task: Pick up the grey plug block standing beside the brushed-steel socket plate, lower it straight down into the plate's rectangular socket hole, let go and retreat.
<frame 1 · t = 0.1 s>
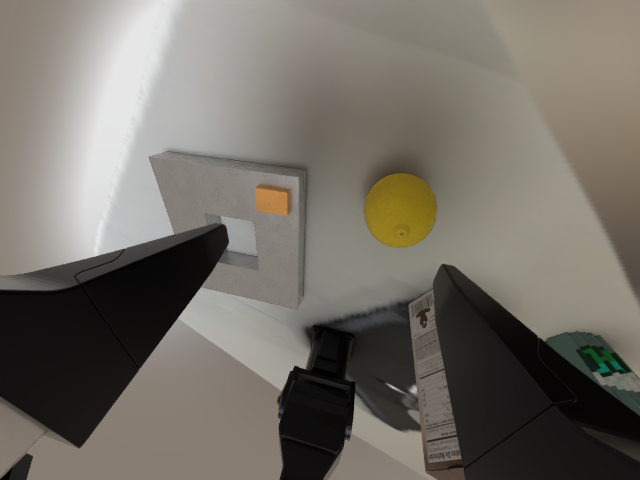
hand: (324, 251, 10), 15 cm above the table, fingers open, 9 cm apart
coffee box: (451, 310, 29), on the table
socket plate: (243, 232, 29), on the table
lemon: (396, 191, 22), on the table
can: (570, 347, 27), on the table
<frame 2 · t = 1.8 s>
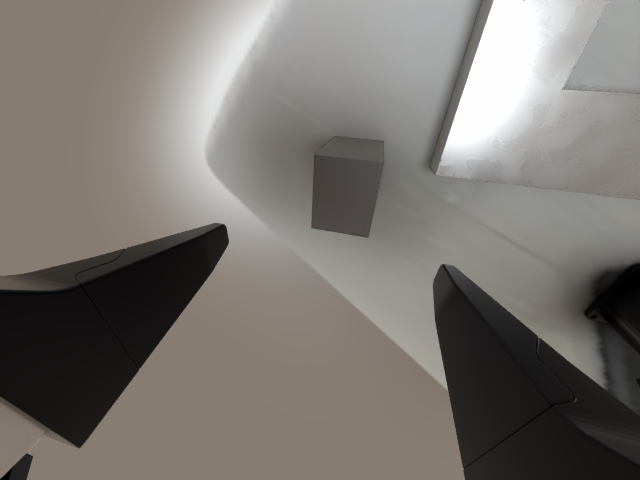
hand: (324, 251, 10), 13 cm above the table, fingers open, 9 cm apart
plug: (354, 169, 20), on the table
socket plate: (636, 17, 13), on the table
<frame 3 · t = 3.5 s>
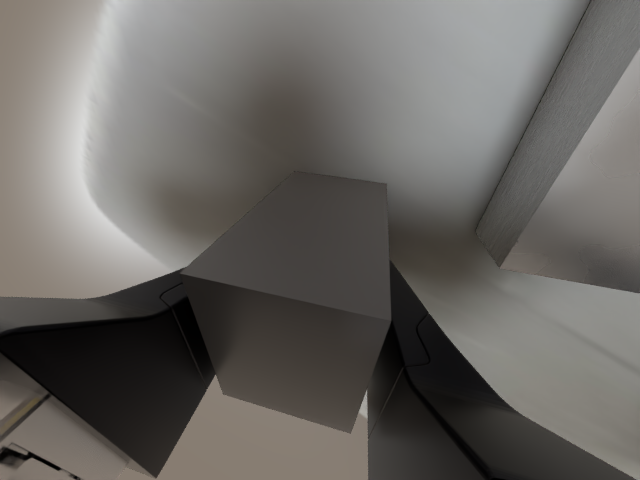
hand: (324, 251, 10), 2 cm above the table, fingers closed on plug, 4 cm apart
plug: (333, 227, 11), on the table, touching gripper
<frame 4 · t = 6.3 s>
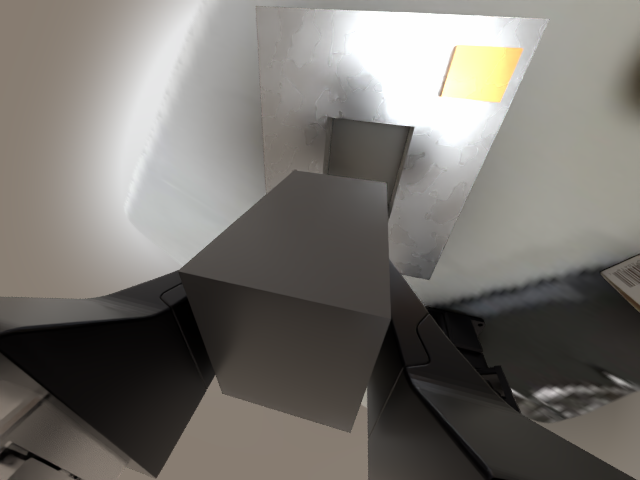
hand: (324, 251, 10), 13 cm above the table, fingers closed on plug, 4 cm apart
plug: (333, 226, 11), point 11 cm above the table, touching gripper
socket plate: (363, 163, 20), on the table
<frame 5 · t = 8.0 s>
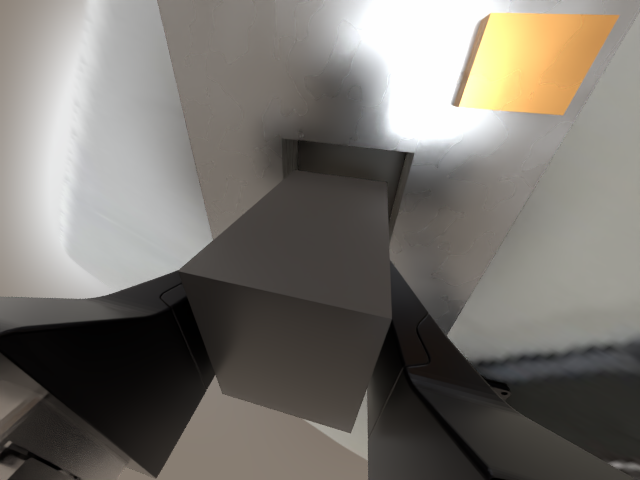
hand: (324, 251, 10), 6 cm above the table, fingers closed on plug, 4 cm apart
plug: (333, 226, 11), point 4 cm above the table, touching gripper
socket plate: (343, 197, 14), on the table
when the fingers open (4 cm above the table, at t = 9.4 s): plug drops 2 cm, resting in socket plate.
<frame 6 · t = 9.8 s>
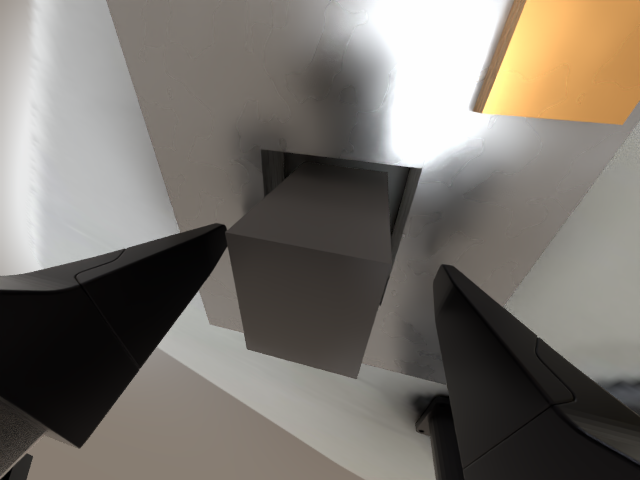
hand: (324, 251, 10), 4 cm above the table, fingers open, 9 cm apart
plug: (339, 213, 12), resting in socket plate
socket plate: (338, 214, 12), on the table
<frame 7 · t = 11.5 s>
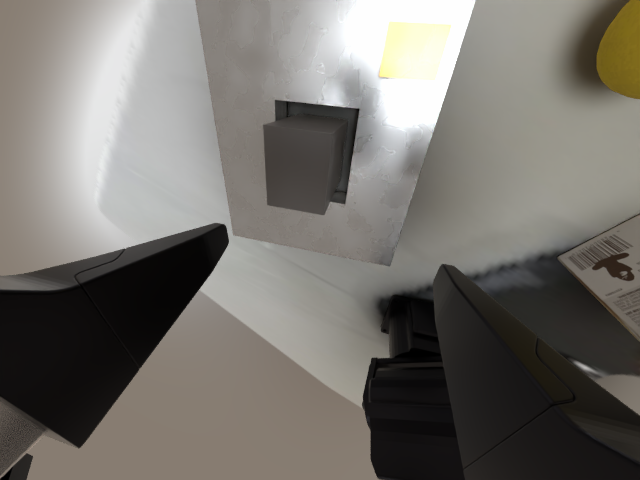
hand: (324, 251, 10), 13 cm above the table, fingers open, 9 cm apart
plug: (320, 149, 20), resting in socket plate
coffee box: (625, 264, 20), on the table
socket plate: (320, 149, 20), on the table
lemon: (623, 40, 13), on the table
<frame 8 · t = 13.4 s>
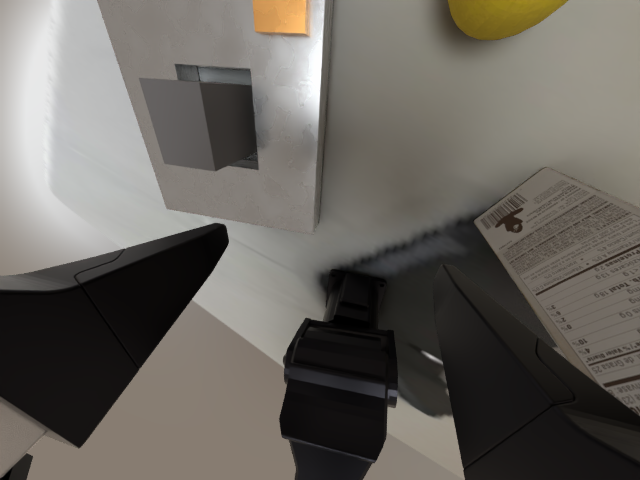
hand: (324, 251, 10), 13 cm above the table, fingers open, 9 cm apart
plug: (237, 118, 20), resting in socket plate
coffee box: (539, 226, 20), on the table
socket plate: (236, 118, 20), on the table
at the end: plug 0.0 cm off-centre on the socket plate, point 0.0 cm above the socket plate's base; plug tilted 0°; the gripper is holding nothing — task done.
